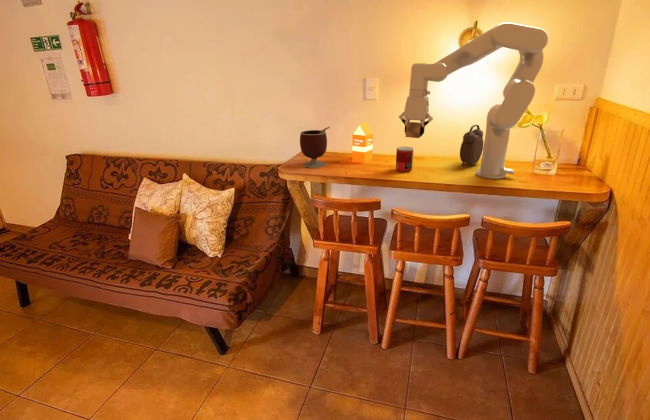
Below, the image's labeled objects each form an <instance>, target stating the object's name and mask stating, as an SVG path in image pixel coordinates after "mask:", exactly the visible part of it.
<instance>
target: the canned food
mask: <svg viewBox="0 0 650 420" xmlns="http://www.w3.org/2000/svg"><path fill="white" fill-rule="evenodd" d="M395 152H396V153H395V154H396V156H395V157H396V158H395V171H397V172H399V173H411V172H412V170H413V162H414V161H413V159H414V147H411V146H398V147H396V151H395Z"/></svg>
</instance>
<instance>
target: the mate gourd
mask: <svg viewBox="0 0 650 420" xmlns="http://www.w3.org/2000/svg"><path fill="white" fill-rule="evenodd" d="M328 129H330V126H328V127H325V128H323V129H321V130H320V129H310V130H303V131H301V132H300V136H299V147H300V150H301V151H300V152H301V153H302V154H303V156H305V157H307V158H309V159H311V160H310V161H309V160H308V161H305V162H303V163H302V167H303V166H304V167H303V168H306V167H309V168H308V169H318V168H317V167H321V168H323V166H324V167H325V165H326V166H327V162H325V161H322V160H318V158H320V157H323V156H324V154H325V153H326V152H327V148H328V147H327V146H328V138H327V132H326V130H328Z"/></svg>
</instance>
